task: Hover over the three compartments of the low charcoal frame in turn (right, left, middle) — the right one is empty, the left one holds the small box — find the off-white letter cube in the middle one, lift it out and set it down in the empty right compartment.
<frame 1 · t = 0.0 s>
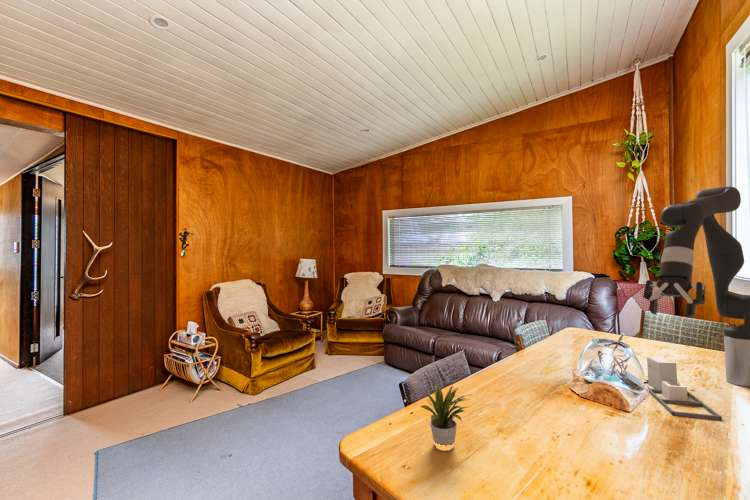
hand: (670, 315, 105), 31 cm above the table, tool tilted 20°, fingers open, 8 cm apart
house plant: (444, 449, 93), on the table
letter cube: (674, 391, 120), in the frame
frame: (674, 398, 120), on the table
small box: (662, 388, 129), resting in frame
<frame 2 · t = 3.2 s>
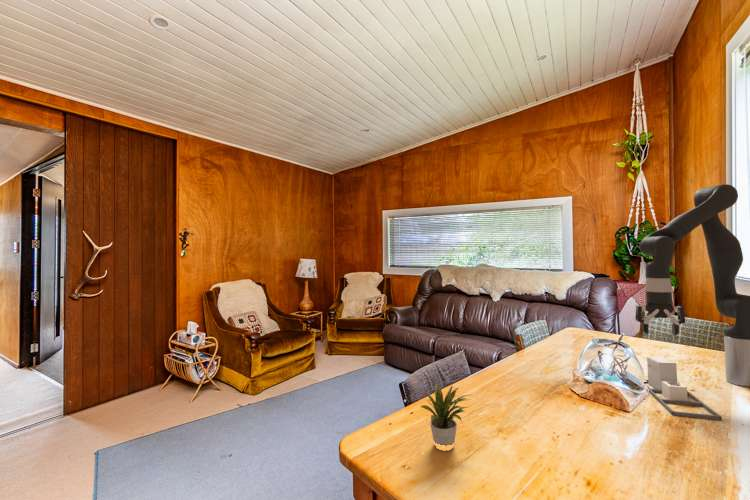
hand: (660, 334, 129), 20 cm above the table, tool pointing down, fingers open, 8 cm apart
nothing on the table moved.
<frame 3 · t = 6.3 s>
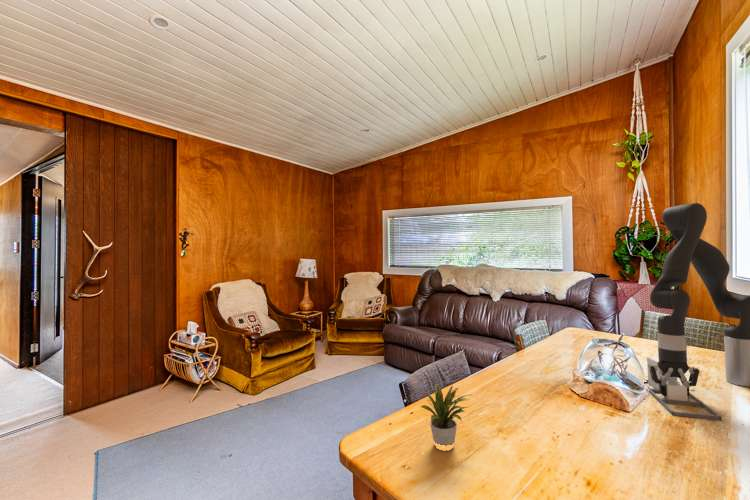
hand: (674, 396, 120), 1 cm above the table, tool pointing down, fingers closed on letter cube, 5 cm apart
letter cube: (674, 391, 120), in the frame, touching gripper
everything else where it was.
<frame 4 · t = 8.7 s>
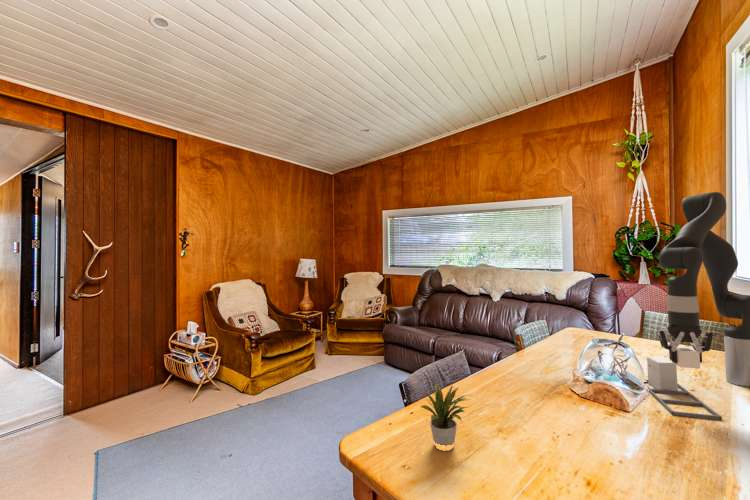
hand: (685, 363, 112), 15 cm above the table, tool pointing down, fingers closed on letter cube, 5 cm apart
letter cube: (685, 357, 112), point 17 cm above the table, touching gripper
everything else where it was.
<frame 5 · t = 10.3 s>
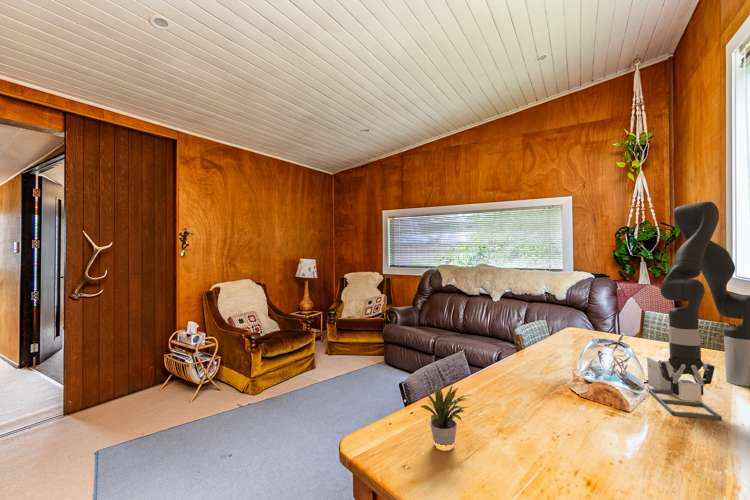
hand: (686, 395, 111), 5 cm above the table, tool pointing down, fingers closed on letter cube, 5 cm apart
letter cube: (686, 389, 111), point 7 cm above the table, touching gripper
everything else where it was.
when the fingers open (2 cm above the table, at t = 11.4 s): letter cube drops 1 cm, resting in frame.
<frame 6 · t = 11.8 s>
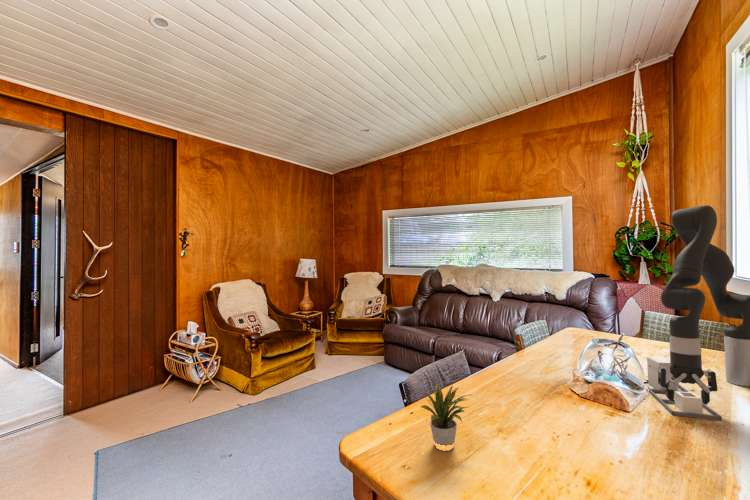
hand: (687, 401, 111), 3 cm above the table, tool pointing down, fingers open, 8 cm apart
letter cube: (688, 402, 111), in the frame
everything else where it was.
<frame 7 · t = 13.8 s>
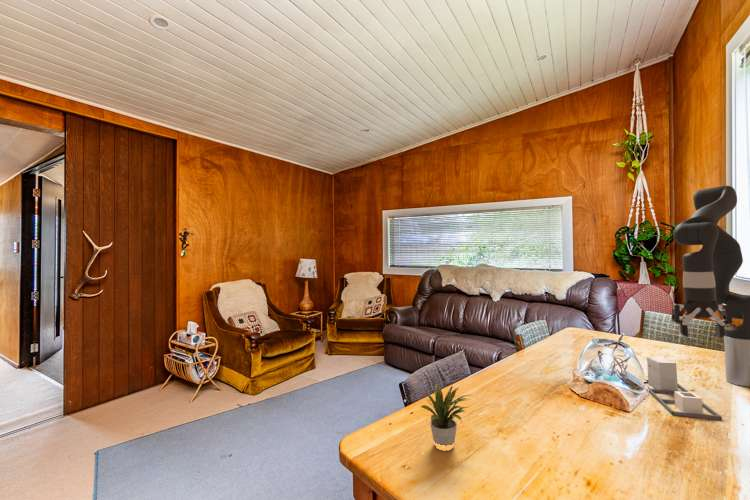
hand: (702, 336, 111), 23 cm above the table, tool pointing down, fingers open, 8 cm apart
nothing on the table moved.
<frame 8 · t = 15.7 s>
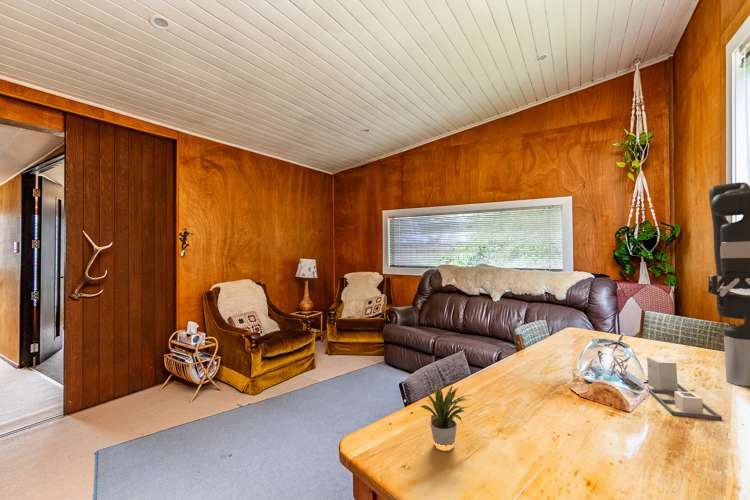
hand: (740, 308, 109), 32 cm above the table, tool pointing down, fingers open, 8 cm apart
nothing on the table moved.
at the end: letter cube inside the target area on the frame (0.1 cm from its centre), point 2.4 cm above the frame's base; letter cube tilted 0°; the gripper is holding nothing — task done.
